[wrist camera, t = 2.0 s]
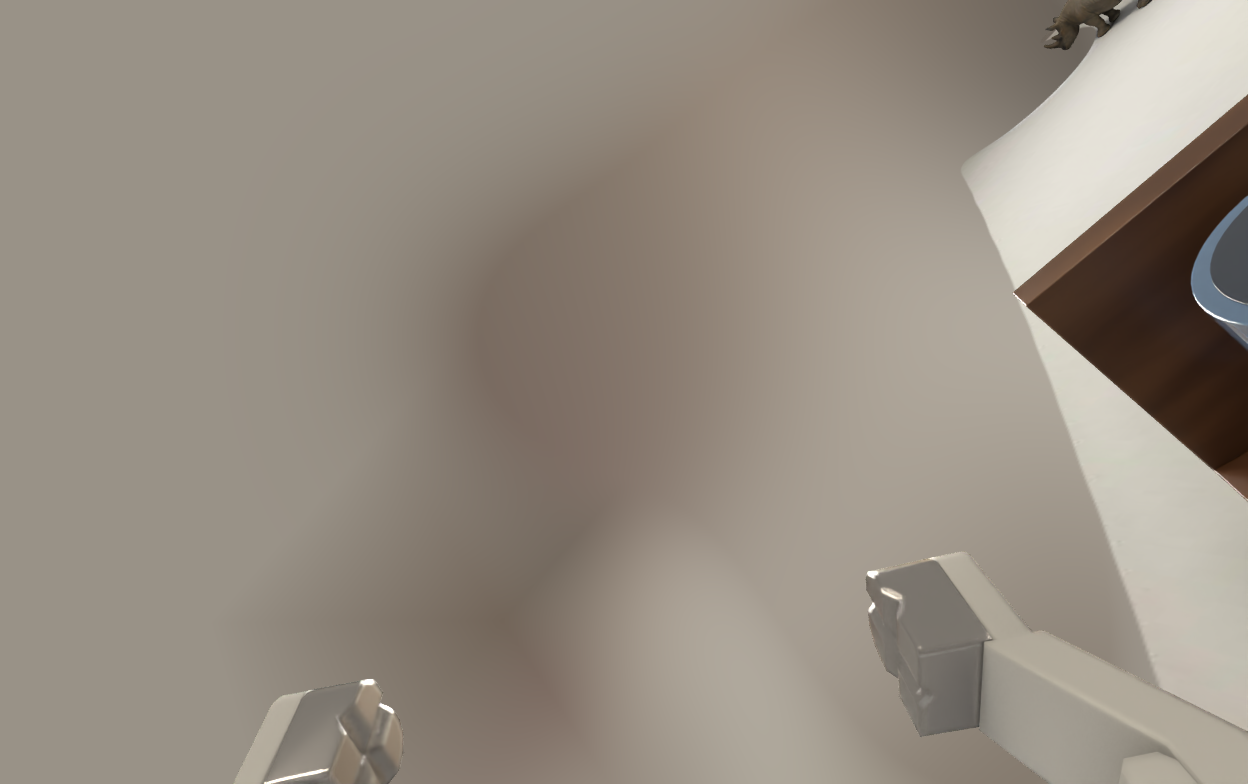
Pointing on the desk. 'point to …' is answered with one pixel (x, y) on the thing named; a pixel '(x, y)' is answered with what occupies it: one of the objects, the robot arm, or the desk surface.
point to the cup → (1225, 274)
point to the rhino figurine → (1083, 19)
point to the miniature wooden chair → (1161, 299)
